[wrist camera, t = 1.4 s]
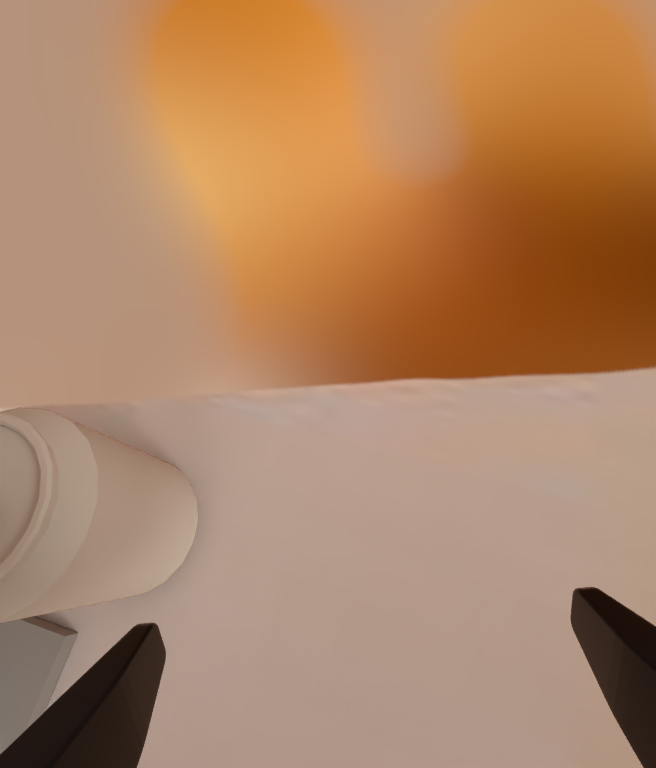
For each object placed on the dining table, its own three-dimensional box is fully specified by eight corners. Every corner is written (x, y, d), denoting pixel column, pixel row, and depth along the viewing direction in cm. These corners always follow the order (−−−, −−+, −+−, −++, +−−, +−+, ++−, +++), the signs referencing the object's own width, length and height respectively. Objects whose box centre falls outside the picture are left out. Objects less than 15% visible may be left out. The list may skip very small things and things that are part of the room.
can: (164, 437, 26) (15, 351, 15) (228, 534, 23) (105, 520, 12) (59, 514, 24) (-194, 486, 13) (114, 627, 22) (-142, 708, 11)
